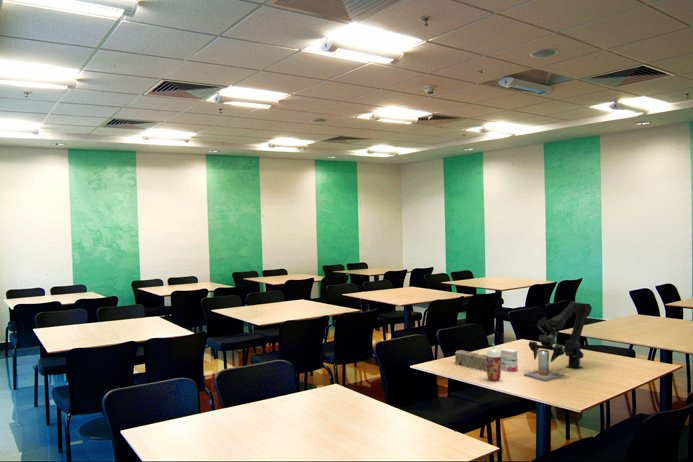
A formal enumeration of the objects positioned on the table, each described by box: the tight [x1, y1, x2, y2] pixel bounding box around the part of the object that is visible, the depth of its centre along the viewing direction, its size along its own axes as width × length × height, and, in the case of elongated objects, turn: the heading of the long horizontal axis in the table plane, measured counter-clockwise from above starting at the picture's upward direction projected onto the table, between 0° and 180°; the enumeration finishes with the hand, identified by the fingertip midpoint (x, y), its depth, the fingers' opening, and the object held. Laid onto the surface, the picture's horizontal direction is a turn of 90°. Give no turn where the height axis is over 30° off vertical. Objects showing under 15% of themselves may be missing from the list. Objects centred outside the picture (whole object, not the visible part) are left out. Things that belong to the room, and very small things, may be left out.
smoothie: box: [485, 343, 502, 382], centre depth 289 cm, size 8×8×20 cm
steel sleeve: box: [537, 349, 550, 376], centre depth 294 cm, size 6×6×13 cm
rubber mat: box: [523, 370, 565, 382], centre depth 294 cm, size 16×14×1 cm
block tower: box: [454, 349, 487, 372], centre depth 316 cm, size 8×8×29 cm
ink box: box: [500, 348, 519, 373], centre depth 309 cm, size 8×5×12 cm, turn 39°
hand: (542, 360), depth 293 cm, fingers open, 9 cm apart
